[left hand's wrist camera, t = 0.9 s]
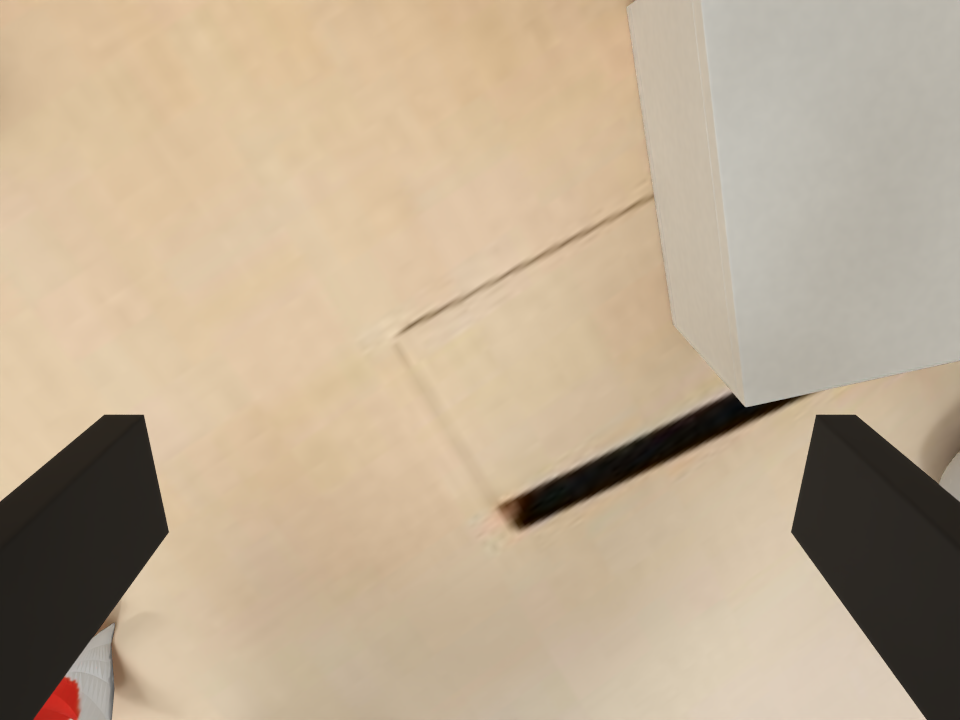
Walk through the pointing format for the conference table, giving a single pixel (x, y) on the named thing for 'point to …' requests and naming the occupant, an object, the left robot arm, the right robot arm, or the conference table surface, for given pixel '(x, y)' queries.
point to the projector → (952, 477)
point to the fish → (85, 685)
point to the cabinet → (805, 184)
